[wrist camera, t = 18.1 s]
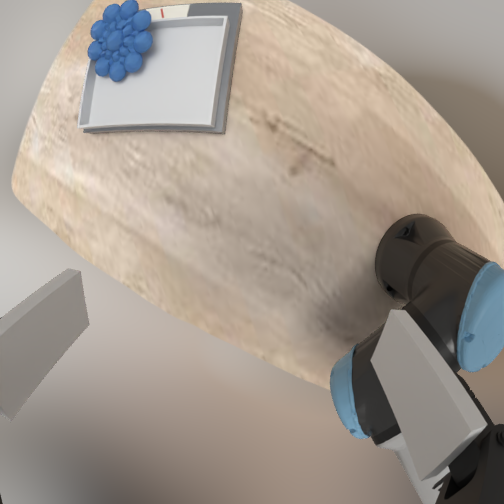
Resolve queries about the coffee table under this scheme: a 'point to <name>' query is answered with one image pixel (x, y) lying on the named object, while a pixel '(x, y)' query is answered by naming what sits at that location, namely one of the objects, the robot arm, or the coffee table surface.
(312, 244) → the coffee table surface
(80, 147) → the coffee table surface
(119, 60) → the grapes
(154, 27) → the scale
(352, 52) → the coffee table surface
